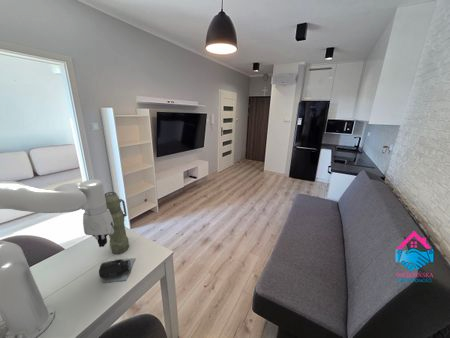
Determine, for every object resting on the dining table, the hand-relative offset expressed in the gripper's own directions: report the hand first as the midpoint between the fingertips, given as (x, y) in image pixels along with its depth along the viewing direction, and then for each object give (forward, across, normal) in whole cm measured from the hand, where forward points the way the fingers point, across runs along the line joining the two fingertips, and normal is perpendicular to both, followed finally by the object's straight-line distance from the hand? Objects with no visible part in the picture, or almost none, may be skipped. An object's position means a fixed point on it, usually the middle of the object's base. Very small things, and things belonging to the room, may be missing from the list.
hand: (103, 244), depth 81 cm
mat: (+18, +4, +3) cm, 19 cm away
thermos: (+18, -2, +18) cm, 25 cm away
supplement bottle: (+14, -3, 0) cm, 15 cm away
